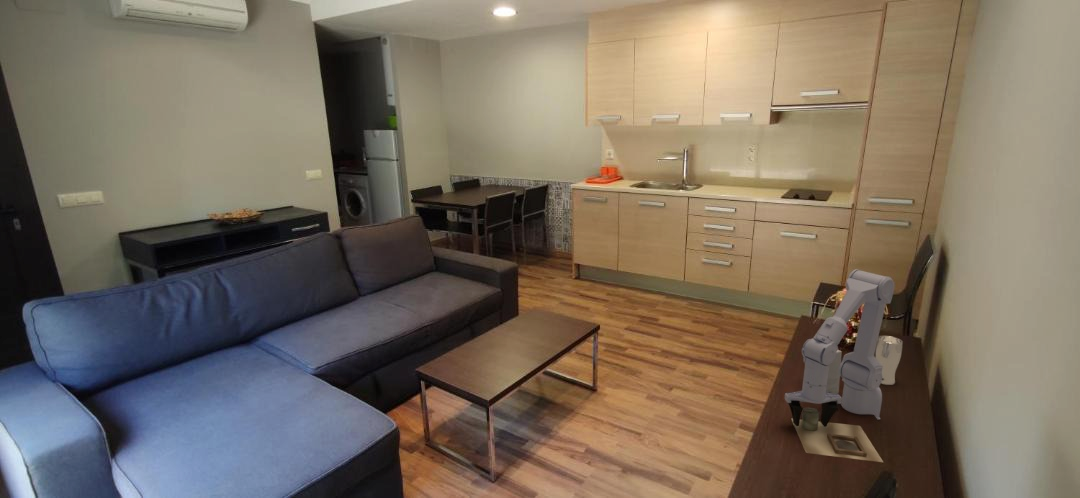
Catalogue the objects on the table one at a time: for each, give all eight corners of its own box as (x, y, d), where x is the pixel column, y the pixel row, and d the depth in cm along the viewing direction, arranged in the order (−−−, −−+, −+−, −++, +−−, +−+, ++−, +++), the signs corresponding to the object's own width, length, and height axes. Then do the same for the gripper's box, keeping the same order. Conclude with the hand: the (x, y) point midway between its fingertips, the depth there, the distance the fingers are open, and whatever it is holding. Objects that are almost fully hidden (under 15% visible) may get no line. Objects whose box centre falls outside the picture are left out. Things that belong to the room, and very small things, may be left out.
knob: (815, 423, 141) (817, 407, 139) (819, 432, 137) (821, 415, 136) (799, 422, 142) (801, 406, 140) (803, 430, 138) (805, 413, 137)
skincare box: (838, 394, 158) (844, 351, 154) (822, 396, 156) (828, 354, 153) (818, 381, 166) (823, 341, 162) (803, 383, 164) (808, 343, 161)
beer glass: (874, 383, 163) (880, 342, 160) (869, 374, 170) (875, 334, 166) (899, 387, 161) (906, 345, 157) (893, 377, 167) (900, 336, 163)
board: (859, 429, 139) (860, 422, 139) (883, 466, 124) (884, 458, 124) (790, 421, 144) (791, 415, 143) (805, 456, 129) (806, 449, 128)
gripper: (834, 374, 139) (828, 416, 142) (782, 373, 140) (777, 415, 143) (848, 387, 132) (841, 431, 135) (792, 386, 133) (787, 430, 136)
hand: (809, 424), depth 139 cm, fingers open, 7 cm apart
